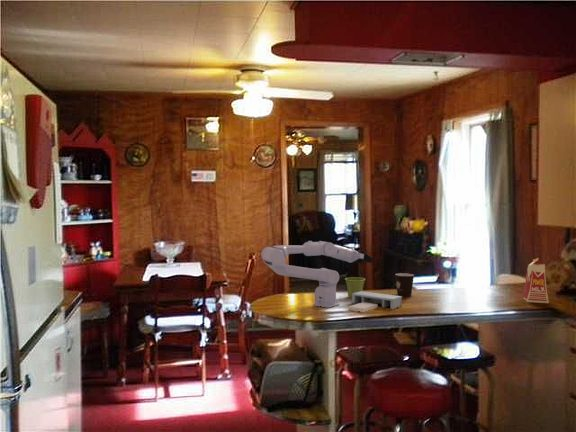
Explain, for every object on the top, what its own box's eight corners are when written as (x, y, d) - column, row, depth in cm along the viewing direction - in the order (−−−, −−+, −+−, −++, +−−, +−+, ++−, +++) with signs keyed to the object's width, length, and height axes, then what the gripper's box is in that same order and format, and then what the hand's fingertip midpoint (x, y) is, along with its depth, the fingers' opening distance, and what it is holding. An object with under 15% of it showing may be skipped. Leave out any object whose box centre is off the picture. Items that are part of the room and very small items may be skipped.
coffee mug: (415, 297, 267) (415, 276, 266) (396, 297, 267) (397, 275, 266) (410, 293, 278) (410, 272, 278) (392, 292, 279) (392, 272, 278)
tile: (363, 313, 233) (363, 308, 233) (348, 311, 238) (348, 306, 238) (377, 308, 243) (377, 304, 243) (363, 306, 247) (363, 302, 247)
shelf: (393, 309, 240) (393, 299, 240) (352, 303, 252) (352, 293, 252) (401, 306, 247) (401, 296, 246) (361, 300, 259) (361, 291, 259)
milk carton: (548, 303, 256) (550, 258, 255) (526, 302, 258) (528, 258, 257) (543, 299, 265) (545, 256, 264) (522, 298, 266) (523, 255, 266)
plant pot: (358, 300, 259) (358, 281, 259) (340, 297, 265) (341, 279, 265) (368, 297, 267) (369, 278, 266) (351, 294, 272) (351, 276, 272)
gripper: (353, 244, 244) (378, 251, 251) (334, 244, 257) (358, 251, 263) (350, 260, 243) (375, 267, 249) (331, 259, 256) (356, 266, 262)
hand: (366, 260), depth 256 cm, fingers open, 7 cm apart
